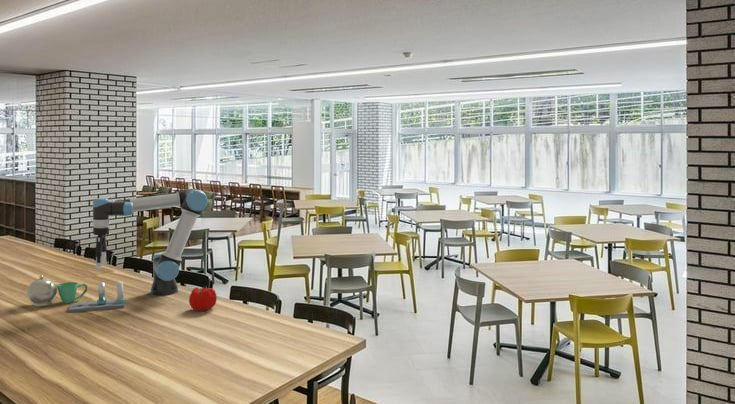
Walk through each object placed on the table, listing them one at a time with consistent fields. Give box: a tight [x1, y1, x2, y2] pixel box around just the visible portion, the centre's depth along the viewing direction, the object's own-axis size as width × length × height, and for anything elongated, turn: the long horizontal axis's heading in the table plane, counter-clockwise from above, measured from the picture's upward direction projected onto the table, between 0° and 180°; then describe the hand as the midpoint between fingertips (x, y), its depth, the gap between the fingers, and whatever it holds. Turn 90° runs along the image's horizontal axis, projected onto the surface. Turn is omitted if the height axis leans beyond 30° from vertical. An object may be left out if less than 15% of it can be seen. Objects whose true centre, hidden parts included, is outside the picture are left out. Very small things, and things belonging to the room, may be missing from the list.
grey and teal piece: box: [67, 281, 126, 313], centre depth 282 cm, size 26×12×12 cm, turn 111°
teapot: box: [26, 274, 58, 308], centre depth 284 cm, size 18×14×16 cm
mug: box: [56, 281, 88, 304], centre depth 292 cm, size 15×10×10 cm
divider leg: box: [96, 282, 108, 304], centre depth 282 cm, size 4×3×11 cm
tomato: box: [188, 287, 218, 312], centre depth 279 cm, size 13×14×12 cm
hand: (101, 266), depth 285 cm, fingers open, 13 cm apart
